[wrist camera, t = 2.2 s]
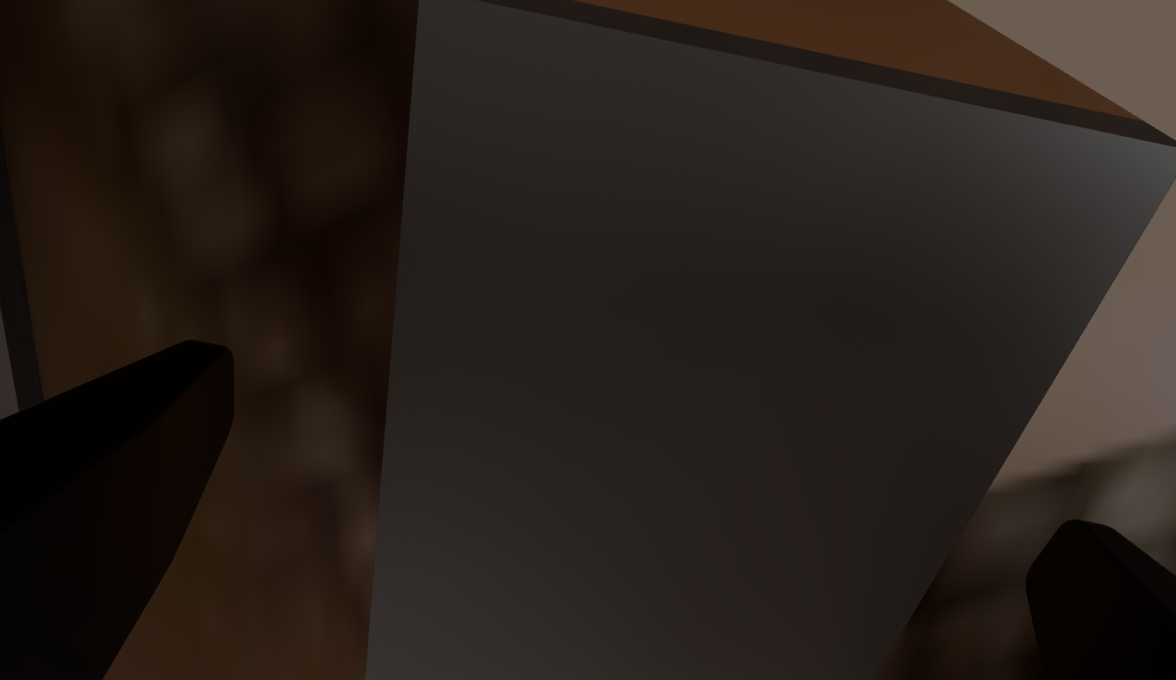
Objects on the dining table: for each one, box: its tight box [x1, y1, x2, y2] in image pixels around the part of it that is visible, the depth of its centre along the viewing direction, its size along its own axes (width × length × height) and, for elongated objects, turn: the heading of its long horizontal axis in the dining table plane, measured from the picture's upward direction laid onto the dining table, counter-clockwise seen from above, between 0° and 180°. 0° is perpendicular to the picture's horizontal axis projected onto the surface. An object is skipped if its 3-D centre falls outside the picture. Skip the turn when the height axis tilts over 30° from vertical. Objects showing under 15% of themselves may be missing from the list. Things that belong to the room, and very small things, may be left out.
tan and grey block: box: [365, 0, 1176, 680], centre depth 10 cm, size 5×9×6 cm, turn 169°
